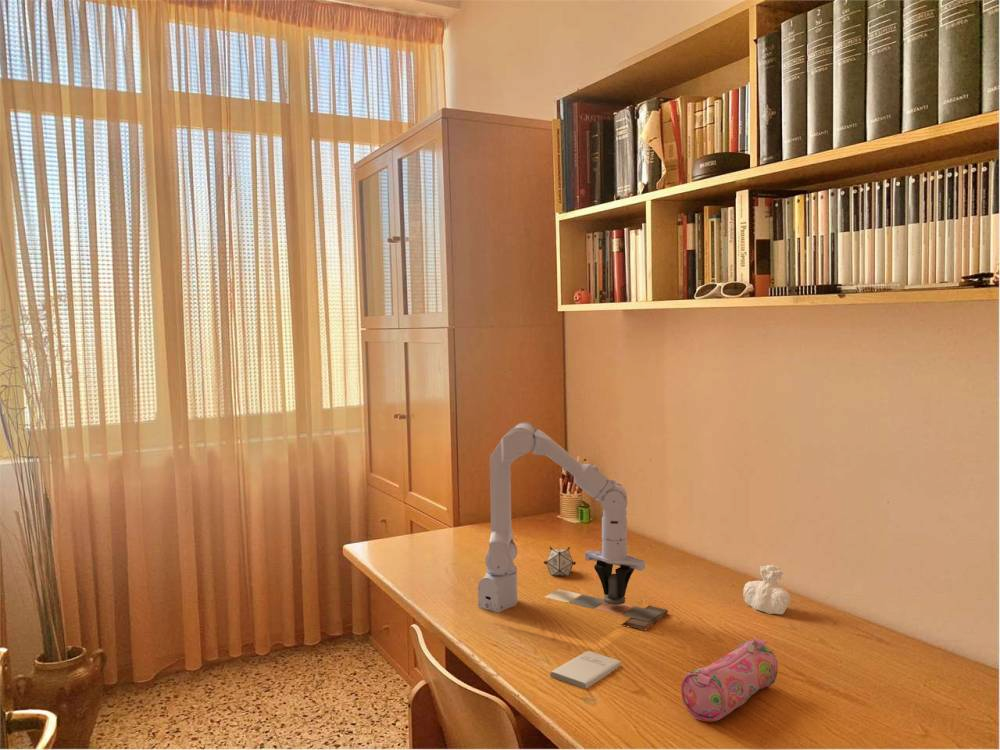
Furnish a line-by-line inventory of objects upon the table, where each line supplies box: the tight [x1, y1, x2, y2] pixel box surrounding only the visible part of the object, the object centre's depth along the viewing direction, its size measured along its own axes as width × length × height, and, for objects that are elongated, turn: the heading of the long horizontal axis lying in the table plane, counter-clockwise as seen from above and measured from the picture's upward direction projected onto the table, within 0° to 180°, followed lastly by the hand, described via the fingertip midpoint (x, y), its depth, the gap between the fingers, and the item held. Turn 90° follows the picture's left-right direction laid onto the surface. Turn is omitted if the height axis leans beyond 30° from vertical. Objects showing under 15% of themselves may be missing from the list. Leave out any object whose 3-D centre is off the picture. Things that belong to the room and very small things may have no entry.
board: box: [544, 588, 669, 631], centre depth 186 cm, size 12×28×1 cm, turn 54°
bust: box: [743, 564, 792, 615], centre depth 185 cm, size 12×8×11 cm
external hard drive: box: [549, 650, 622, 690], centre depth 154 cm, size 2×8×12 cm
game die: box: [543, 546, 577, 577], centre depth 209 cm, size 9×8×10 cm
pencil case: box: [680, 638, 779, 723], centre depth 141 cm, size 21×9×9 cm, turn 134°
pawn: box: [603, 573, 626, 605], centre depth 184 cm, size 5×5×6 cm
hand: (614, 595), depth 184 cm, fingers closed on pawn, 3 cm apart
